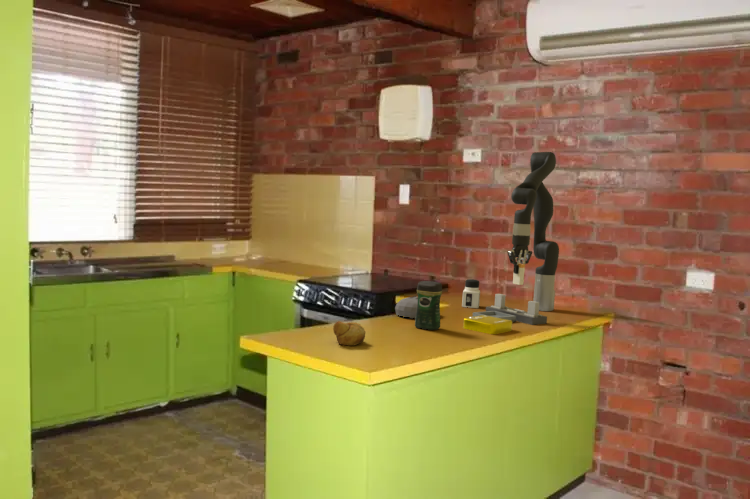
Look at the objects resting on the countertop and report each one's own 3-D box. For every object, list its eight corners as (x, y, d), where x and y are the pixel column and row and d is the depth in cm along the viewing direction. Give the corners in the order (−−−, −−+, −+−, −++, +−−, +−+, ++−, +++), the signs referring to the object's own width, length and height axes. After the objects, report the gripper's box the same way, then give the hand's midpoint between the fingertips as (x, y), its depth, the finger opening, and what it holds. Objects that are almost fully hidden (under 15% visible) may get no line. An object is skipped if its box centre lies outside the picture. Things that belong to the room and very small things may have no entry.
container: (478, 308, 325) (480, 281, 324) (461, 307, 327) (463, 279, 326) (479, 306, 333) (481, 279, 332) (463, 304, 334) (464, 278, 333)
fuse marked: (516, 283, 306) (518, 263, 305) (523, 284, 303) (525, 264, 302) (512, 283, 304) (514, 263, 304) (519, 284, 301) (521, 264, 300)
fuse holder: (499, 312, 319) (500, 304, 319) (546, 323, 296) (547, 315, 296) (485, 313, 314) (486, 305, 313) (532, 324, 291) (532, 316, 290)
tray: (494, 316, 306) (494, 310, 306) (515, 321, 296) (516, 316, 296) (472, 318, 299) (472, 312, 299) (493, 323, 288) (494, 317, 288)
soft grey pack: (409, 310, 310) (387, 316, 293) (410, 292, 309) (388, 297, 292) (439, 315, 303) (419, 321, 285) (441, 296, 302) (421, 301, 284)
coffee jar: (442, 328, 272) (445, 281, 271) (434, 331, 266) (437, 283, 264) (420, 324, 277) (423, 279, 276) (411, 327, 270) (414, 280, 269)
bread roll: (347, 338, 246) (348, 315, 245) (372, 342, 242) (373, 319, 241) (329, 344, 234) (331, 321, 234) (355, 348, 230) (356, 324, 230)
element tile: (492, 335, 266) (493, 323, 265) (460, 328, 276) (461, 317, 275) (513, 331, 277) (514, 319, 276) (482, 325, 287) (483, 313, 286)
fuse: (530, 321, 299) (532, 300, 298) (537, 323, 296) (539, 302, 295) (526, 321, 298) (528, 301, 297) (533, 323, 294) (535, 302, 294)
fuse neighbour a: (497, 313, 315) (499, 293, 315) (504, 314, 312) (505, 295, 311) (493, 313, 314) (495, 293, 313) (500, 315, 311) (501, 295, 310)
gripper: (526, 233, 309) (523, 272, 310) (503, 233, 301) (501, 272, 302) (538, 235, 303) (535, 274, 304) (516, 234, 295) (513, 275, 296)
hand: (518, 273), depth 303 cm, fingers closed on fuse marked, 2 cm apart
